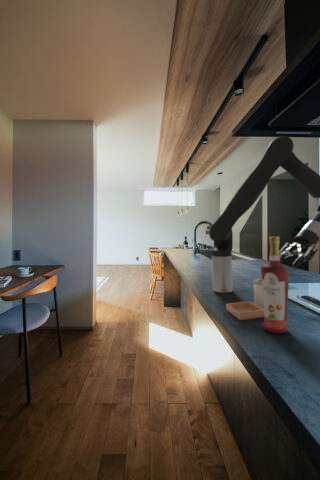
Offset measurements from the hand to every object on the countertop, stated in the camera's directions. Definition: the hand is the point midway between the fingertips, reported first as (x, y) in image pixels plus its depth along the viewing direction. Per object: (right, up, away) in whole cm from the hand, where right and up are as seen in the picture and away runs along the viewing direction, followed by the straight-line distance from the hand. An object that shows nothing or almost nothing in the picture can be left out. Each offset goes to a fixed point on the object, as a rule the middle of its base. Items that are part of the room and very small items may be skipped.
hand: (285, 265), depth 88 cm
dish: (-18, -16, -7) cm, 26 cm away
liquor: (-15, -17, -21) cm, 31 cm away
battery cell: (-10, -16, -1) cm, 19 cm away
